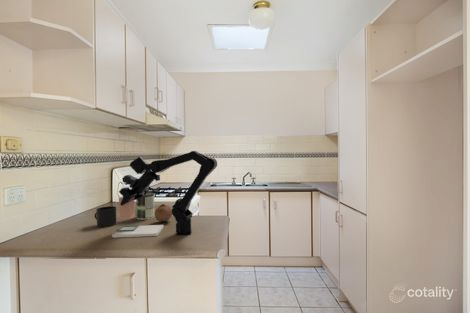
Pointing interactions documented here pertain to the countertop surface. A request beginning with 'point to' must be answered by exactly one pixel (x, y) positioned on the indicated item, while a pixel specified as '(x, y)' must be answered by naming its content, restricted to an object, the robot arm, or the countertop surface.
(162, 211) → the onion
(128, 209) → the pillar
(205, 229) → the countertop surface
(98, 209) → the mug
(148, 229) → the build board
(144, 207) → the coffee can
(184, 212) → the robot arm
